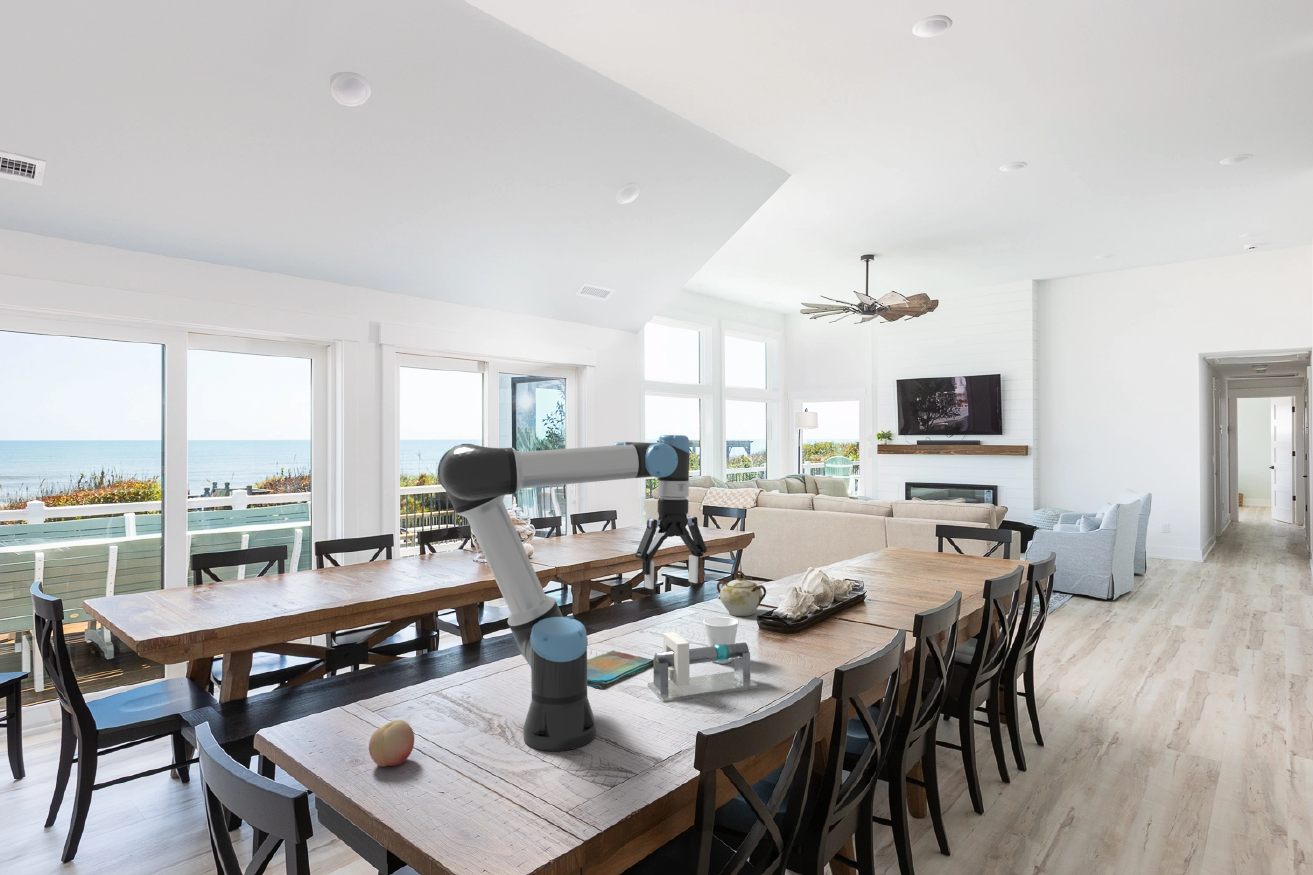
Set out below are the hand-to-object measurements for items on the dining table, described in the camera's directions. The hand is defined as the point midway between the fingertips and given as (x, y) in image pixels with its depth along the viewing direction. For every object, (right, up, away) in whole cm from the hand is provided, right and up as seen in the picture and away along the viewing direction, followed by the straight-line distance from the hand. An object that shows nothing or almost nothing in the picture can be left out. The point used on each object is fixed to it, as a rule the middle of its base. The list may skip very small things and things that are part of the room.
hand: (671, 585), depth 171 cm
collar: (+1, -23, +1) cm, 23 cm away
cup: (+14, -26, +24) cm, 38 cm away
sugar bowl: (+26, -26, +75) cm, 83 cm away
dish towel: (-17, -27, +17) cm, 36 cm away
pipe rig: (+8, -26, +3) cm, 27 cm away
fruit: (-55, -27, -36) cm, 71 cm away
